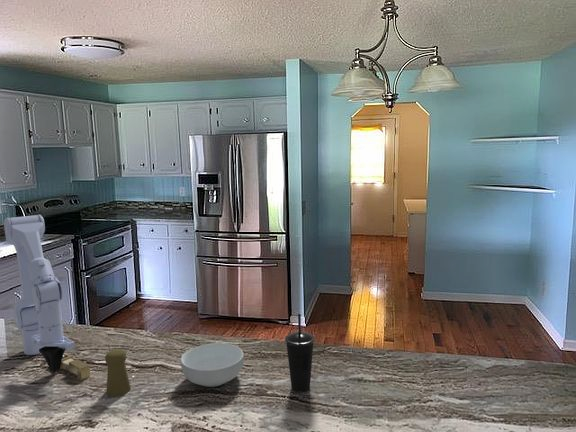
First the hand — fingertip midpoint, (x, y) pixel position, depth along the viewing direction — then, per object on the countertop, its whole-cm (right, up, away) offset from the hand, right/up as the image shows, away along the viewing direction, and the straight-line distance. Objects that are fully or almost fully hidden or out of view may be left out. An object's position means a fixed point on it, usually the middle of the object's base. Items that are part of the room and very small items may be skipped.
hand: (55, 370), depth 124 cm
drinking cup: (+69, -2, -8) cm, 69 cm away
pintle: (-1, -1, +5) cm, 5 cm away
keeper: (+8, -2, -1) cm, 8 cm away
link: (+3, 0, +3) cm, 4 cm away
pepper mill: (+21, -3, -8) cm, 23 cm away
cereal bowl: (+45, -2, -3) cm, 45 cm away
